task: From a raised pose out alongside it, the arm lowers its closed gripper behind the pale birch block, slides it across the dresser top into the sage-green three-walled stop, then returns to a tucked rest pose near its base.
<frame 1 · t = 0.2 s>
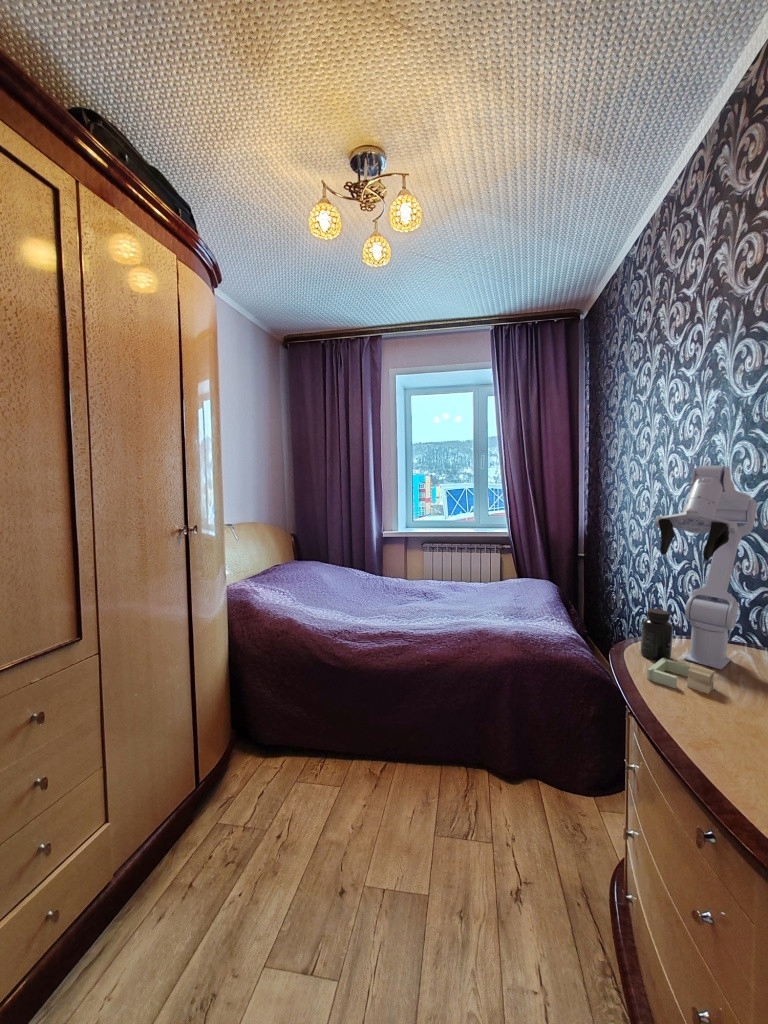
hand: (683, 554, 93), 31 cm above the table, tool tilted 45°, fingers open, 7 cm apart
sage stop: (669, 677, 104), on the table
birch block: (699, 687, 100), on the table
supplement bottle: (655, 656, 116), on the table
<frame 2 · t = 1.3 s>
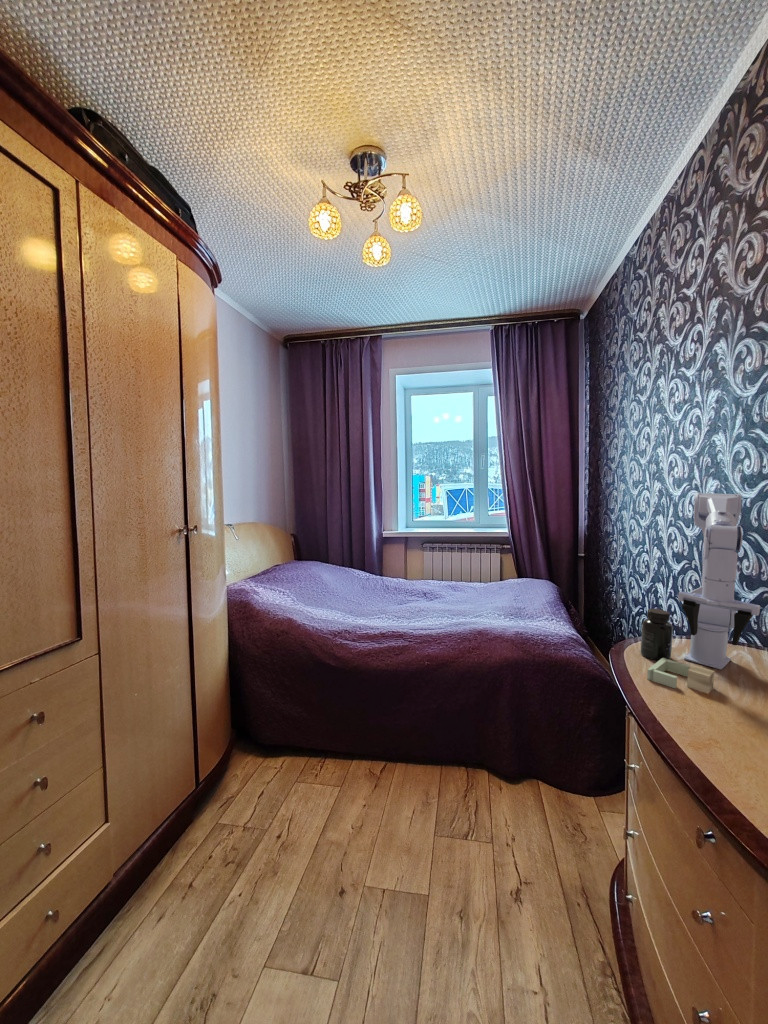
hand: (713, 639, 100), 11 cm above the table, tool pointing down, fingers open, 7 cm apart
nothing on the table moved.
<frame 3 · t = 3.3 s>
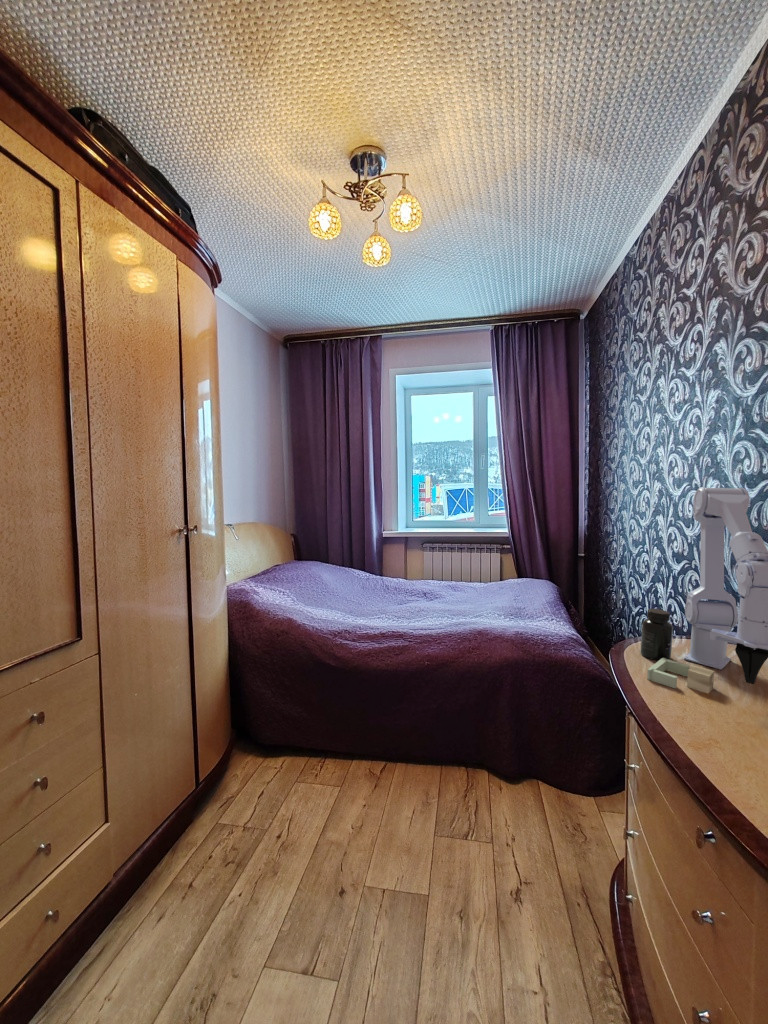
hand: (750, 682, 93), 4 cm above the table, tool pointing down, fingers closed
nothing on the table moved.
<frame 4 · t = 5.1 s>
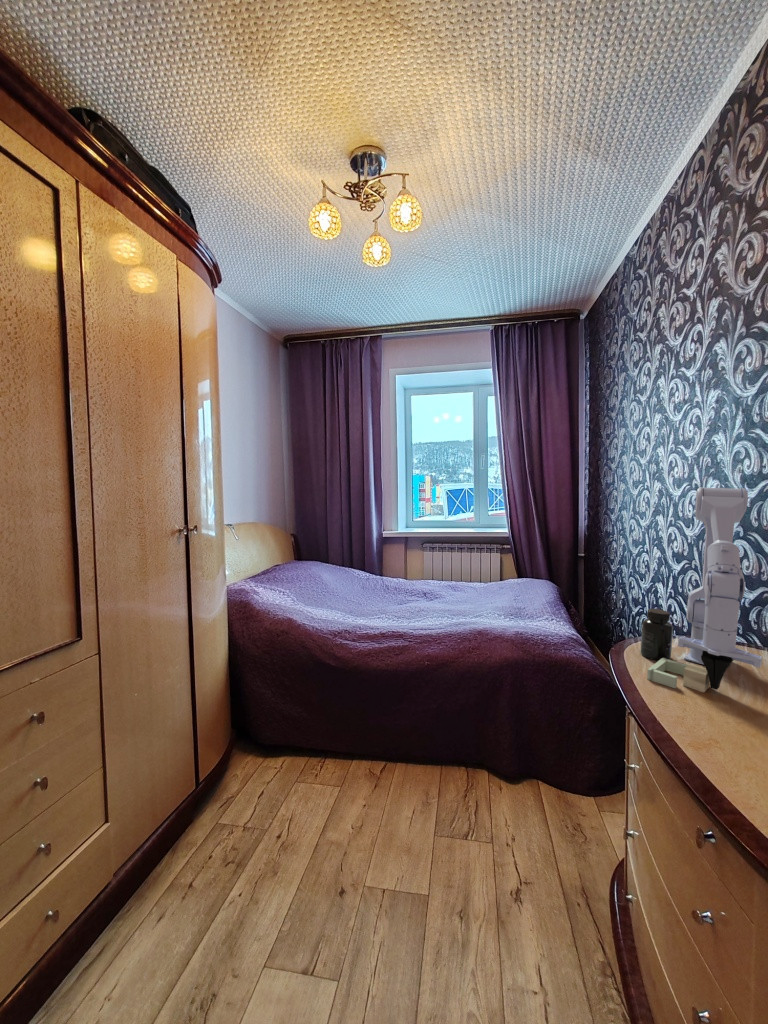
hand: (714, 687, 98), 1 cm above the table, tool pointing down, fingers closed
birch block: (696, 686, 100), on the table, touching gripper
everything else where it was.
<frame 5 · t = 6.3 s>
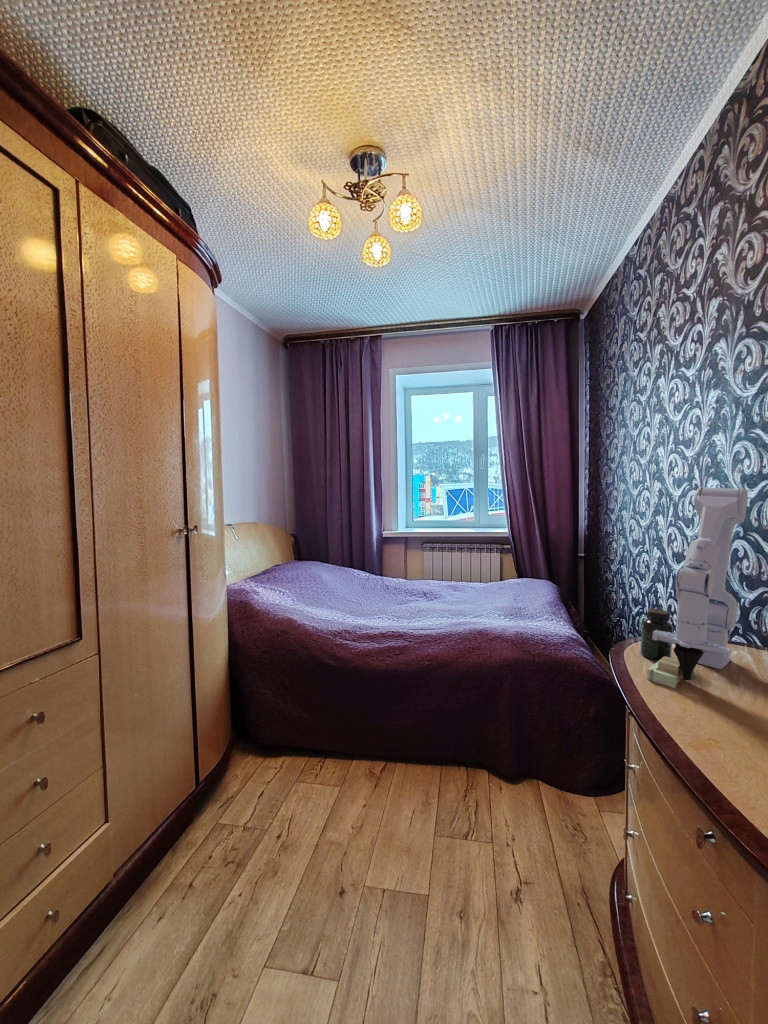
hand: (686, 678, 102), 1 cm above the table, tool pointing down, fingers closed
birch block: (669, 677, 104), on the table, touching gripper, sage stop
everything else where it was.
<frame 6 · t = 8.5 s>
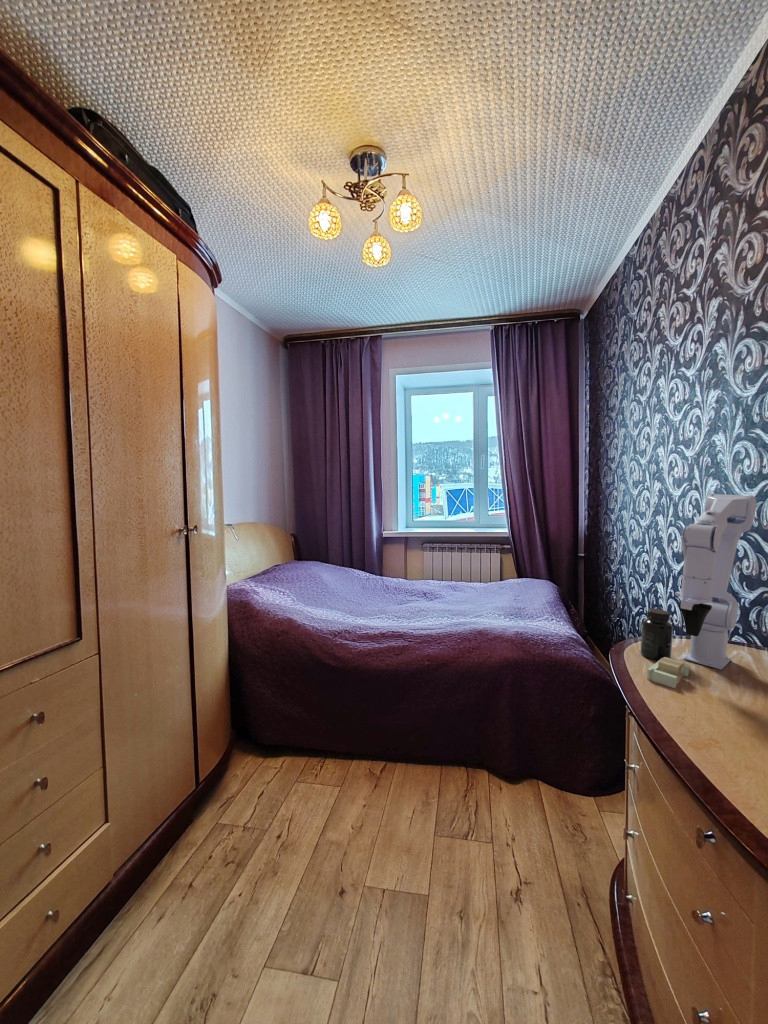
hand: (692, 634, 103), 10 cm above the table, tool pointing down, fingers closed
birch block: (669, 678, 104), on the table
everything else where it was.
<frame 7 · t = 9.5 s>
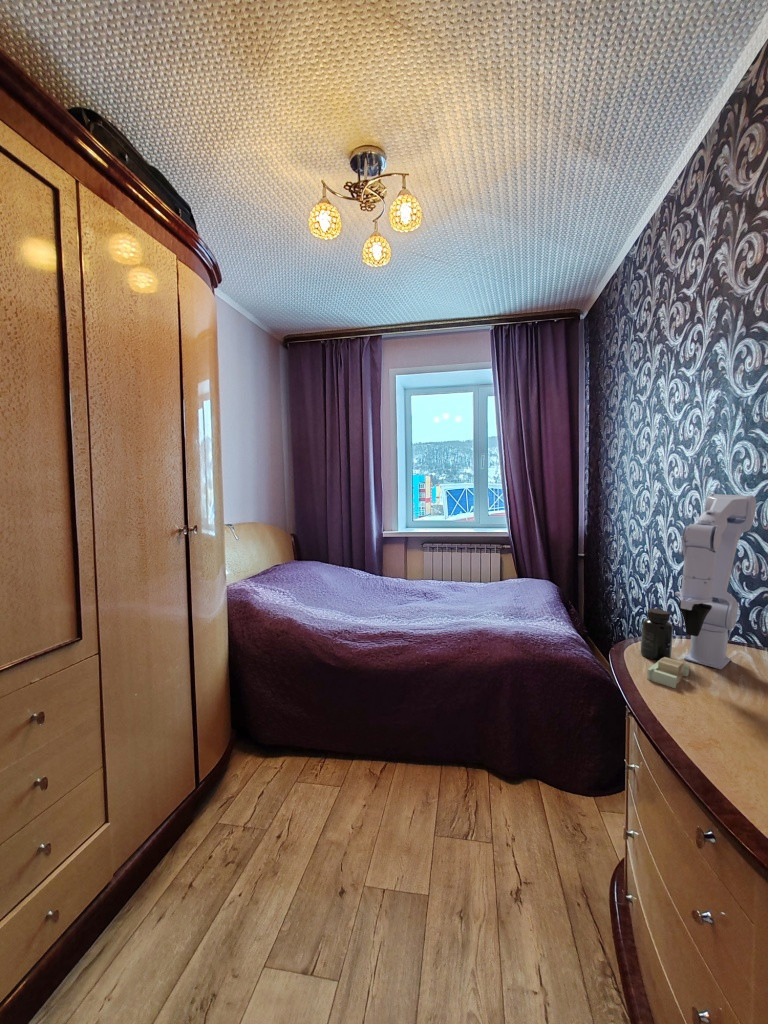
hand: (692, 634, 103), 10 cm above the table, tool pointing down, fingers closed
nothing on the table moved.
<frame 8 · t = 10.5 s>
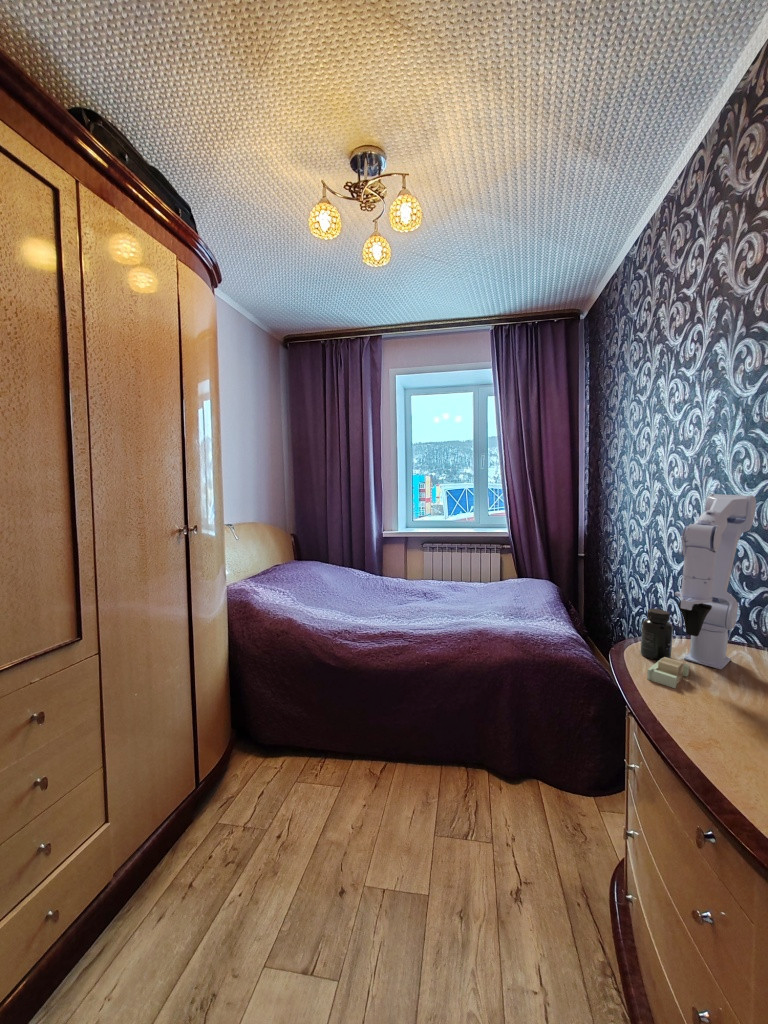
hand: (692, 634, 103), 10 cm above the table, tool pointing down, fingers closed
nothing on the table moved.
at the end: birch block 0.5 cm from the target spot, on the table; birch block tilted 0°; birch block touching table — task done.
